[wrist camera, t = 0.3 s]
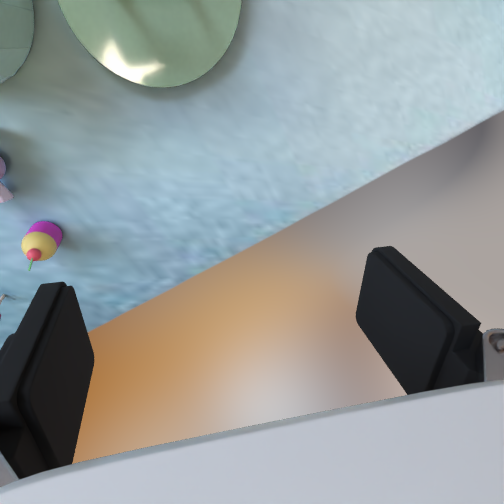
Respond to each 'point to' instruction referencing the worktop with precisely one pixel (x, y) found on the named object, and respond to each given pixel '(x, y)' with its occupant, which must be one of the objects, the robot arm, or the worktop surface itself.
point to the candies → (34, 233)
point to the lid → (154, 36)
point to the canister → (15, 35)
